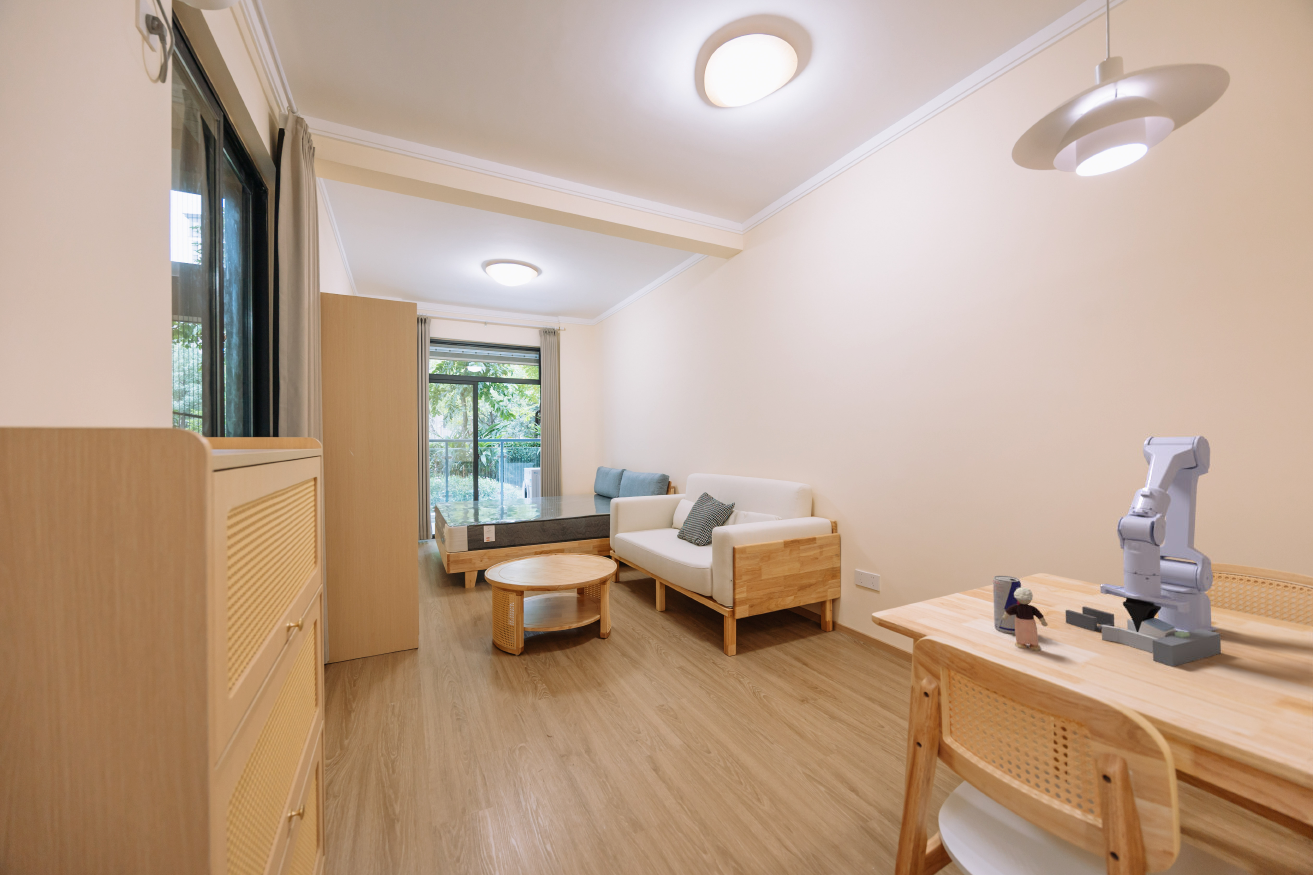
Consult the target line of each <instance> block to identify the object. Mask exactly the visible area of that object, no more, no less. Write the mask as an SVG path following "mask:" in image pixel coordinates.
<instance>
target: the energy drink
mask: <svg viewBox="0 0 1313 875" xmlns="http://www.w3.org/2000/svg"><path fill="white" fill-rule="evenodd" d="M1021 583H1022V582H1021V581H1020V579H1019V578H1017V577H1014V576H1010V575H1009V576H1008V575H994V576H993V580H992V585H993V586H992V587H993V588H992V589H993V590H992V591H993V620H994V622H993V623H994V628H995V629H996V630H997V631H999V632H1001V633H1005V634H1011V635H1015V618H1016V615H1011V616H1010V617H1008V620H1004V619H1003V618H1002V617H1003V616H1004V613H1005V610H1006V609H1007V608H1008V607H1010V606H1011V605H1015V604H1021V603H1019V602H1018V600H1017V599H1016V598H1015V597H1014V592H1015V591H1016V590H1017V589H1018V588H1021V587H1022V584H1021Z"/></svg>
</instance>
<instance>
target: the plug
mask: <svg viewBox="0 0 1313 875" xmlns="http://www.w3.org/2000/svg"><path fill="white" fill-rule="evenodd" d="M1174 627H1175V626H1173V625H1170V624H1168V623H1166V622H1164V621H1162V620H1159V619H1158V617H1154V618H1152V619H1149V620H1145V621H1142V623H1141V626H1140V629H1139V632H1138V633H1142V634H1145V635H1149V636H1152V637H1156V638H1159V639H1160V638H1164V637H1168V636H1172V635H1175V632H1177V631H1176V629H1174Z"/></svg>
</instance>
